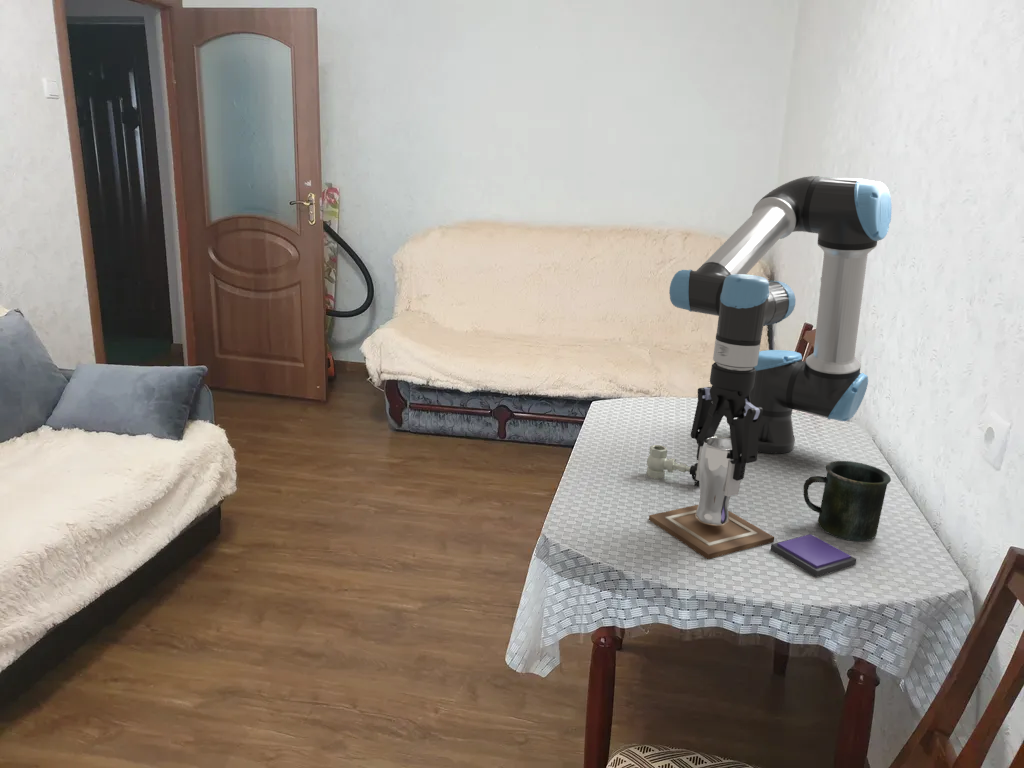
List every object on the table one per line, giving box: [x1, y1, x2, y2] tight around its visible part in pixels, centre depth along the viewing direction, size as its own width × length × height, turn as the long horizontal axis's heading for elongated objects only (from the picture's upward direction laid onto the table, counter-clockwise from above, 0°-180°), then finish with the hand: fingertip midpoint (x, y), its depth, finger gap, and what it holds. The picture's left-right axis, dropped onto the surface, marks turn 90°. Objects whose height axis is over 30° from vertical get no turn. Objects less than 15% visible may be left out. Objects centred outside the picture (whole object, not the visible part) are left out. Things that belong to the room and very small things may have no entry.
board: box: [648, 504, 775, 560], centre depth 143 cm, size 16×16×1 cm
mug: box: [803, 460, 892, 542], centre depth 146 cm, size 11×15×12 cm
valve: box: [646, 444, 700, 488], centre depth 164 cm, size 7×7×12 cm
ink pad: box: [769, 533, 858, 578], centre depth 135 cm, size 10×10×2 cm
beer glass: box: [695, 436, 741, 526], centre depth 140 cm, size 7×7×15 cm
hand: (716, 486), depth 141 cm, fingers closed on beer glass, 7 cm apart
